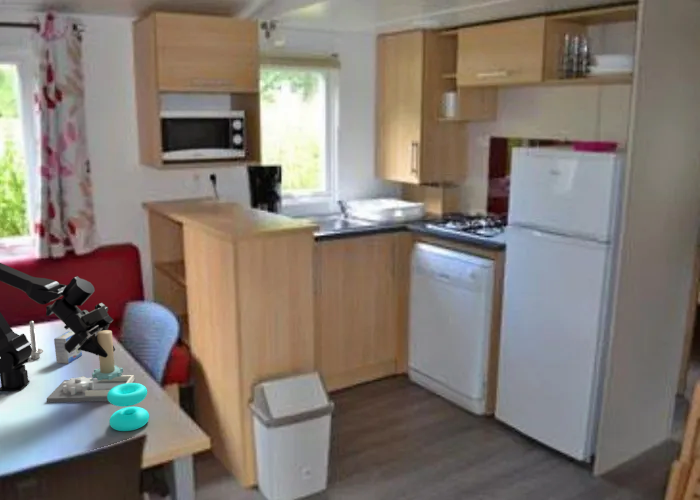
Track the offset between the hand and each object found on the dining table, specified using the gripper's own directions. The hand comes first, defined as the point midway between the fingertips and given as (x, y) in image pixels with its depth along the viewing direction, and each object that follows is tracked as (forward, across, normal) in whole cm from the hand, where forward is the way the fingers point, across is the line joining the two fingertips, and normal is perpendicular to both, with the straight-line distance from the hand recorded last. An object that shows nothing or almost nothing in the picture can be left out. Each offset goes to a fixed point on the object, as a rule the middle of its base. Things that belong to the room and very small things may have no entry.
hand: (110, 353), depth 191 cm
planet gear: (+4, 0, +6) cm, 7 cm away
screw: (-19, +23, +37) cm, 47 cm away
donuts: (+18, -19, -2) cm, 26 cm away
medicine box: (-11, +23, +28) cm, 38 cm away
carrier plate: (+4, -1, +13) cm, 13 cm away
